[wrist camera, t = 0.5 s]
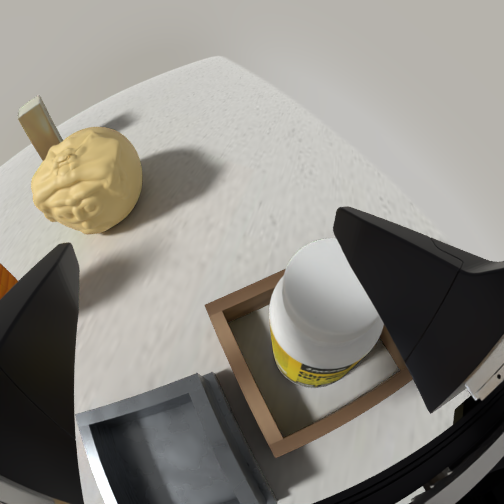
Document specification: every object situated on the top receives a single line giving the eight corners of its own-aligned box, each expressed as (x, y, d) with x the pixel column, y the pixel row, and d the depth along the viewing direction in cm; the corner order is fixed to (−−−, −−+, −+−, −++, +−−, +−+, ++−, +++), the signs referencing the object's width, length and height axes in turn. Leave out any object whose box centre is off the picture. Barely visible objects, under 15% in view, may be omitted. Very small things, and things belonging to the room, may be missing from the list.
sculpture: (63, 259, 29) (7, 196, 20) (80, 187, 36) (44, 128, 27) (150, 236, 29) (105, 154, 20) (154, 164, 36) (126, 93, 27)
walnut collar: (415, 373, 19) (429, 366, 17) (276, 454, 17) (275, 458, 15) (339, 258, 25) (344, 241, 23) (211, 317, 24) (204, 304, 22)
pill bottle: (292, 402, 19) (299, 379, 10) (261, 330, 23) (242, 250, 14) (367, 366, 20) (429, 311, 11) (332, 300, 23) (359, 208, 14)
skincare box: (48, 160, 42) (18, 108, 32) (67, 146, 43) (39, 93, 33) (51, 175, 39) (16, 118, 29) (71, 160, 40) (39, 101, 30)
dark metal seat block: (277, 501, 15) (275, 515, 12) (144, 533, 13) (121, 546, 10) (215, 374, 21) (201, 363, 18) (97, 415, 19) (68, 409, 16)
